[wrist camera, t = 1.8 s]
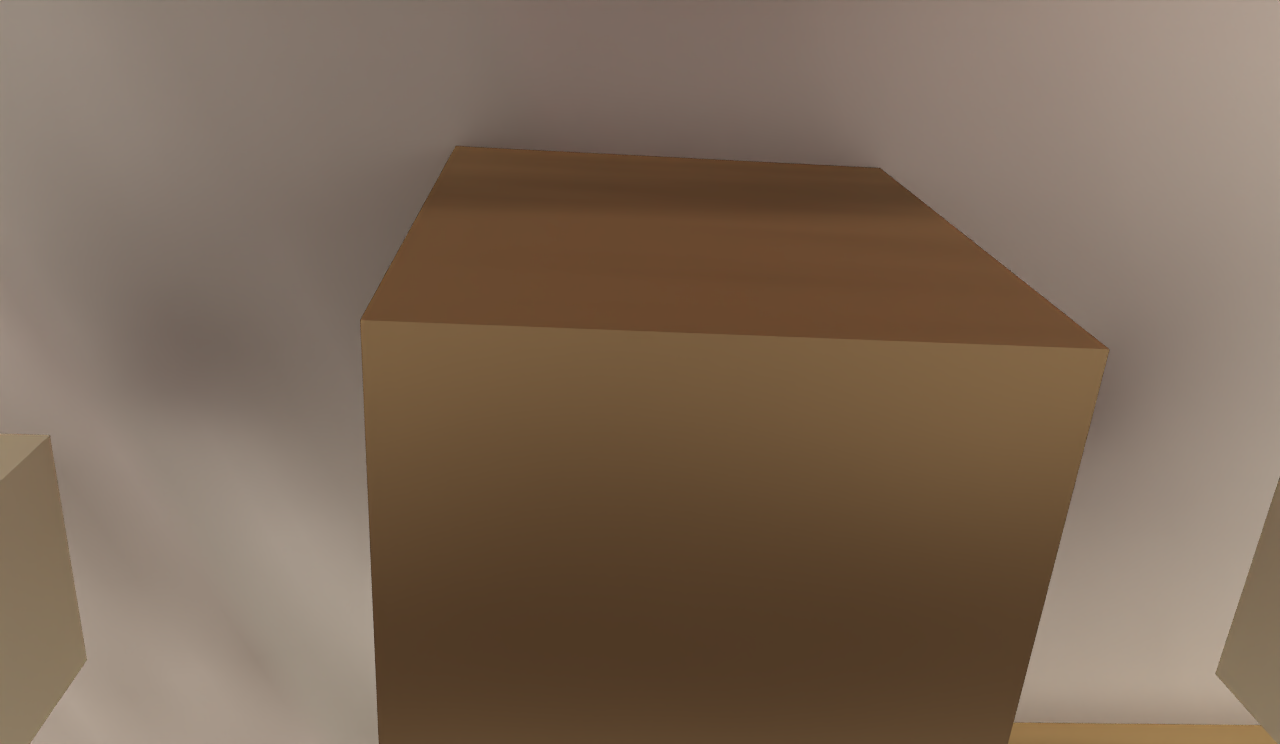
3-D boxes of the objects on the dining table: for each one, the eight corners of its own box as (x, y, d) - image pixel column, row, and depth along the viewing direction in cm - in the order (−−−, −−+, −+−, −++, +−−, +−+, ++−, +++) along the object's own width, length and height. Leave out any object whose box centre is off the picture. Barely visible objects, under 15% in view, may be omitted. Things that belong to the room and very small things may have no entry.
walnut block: (456, 144, 14) (359, 320, 8) (879, 167, 15) (1110, 349, 8) (458, 518, 17) (385, 886, 10) (823, 527, 17) (972, 885, 11)
